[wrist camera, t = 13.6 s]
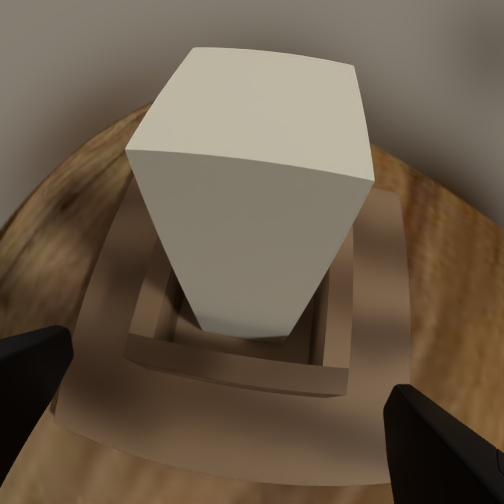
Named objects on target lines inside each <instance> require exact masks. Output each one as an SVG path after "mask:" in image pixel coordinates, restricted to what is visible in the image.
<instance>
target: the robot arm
mask: <svg viewBox="0 0 504 504" xmlns="http://www.w3.org/2000/svg"><path fill="white" fill-rule="evenodd" d="M73 357H74V350H73V344H72V339H71V333H70V331H69V329H68V328H66V327H63V326H60V325H53V326H50V327H46V328H42V329H38V330H34V331H31V332H27V333H23V334H19V335H15V336H11V337H8V338H4V339H0V487H1V485H2V484H3V482H4V480H5V478H6V476H7V474H8V472H9V471H10V469H11V467H12V465H13V463H14V461H15V460H16V458H17V456H18V454H19V453H20V451H21V449H22V447H23V446H24V444H25V442H26V441H27V439H28V437H29V436H30V434H31V432H32V431H33V429H34V427H35V426H36V424H37V422H38V421H39V419H40V418H41V416H42V414H43V413H44V411H45V410H46V408H47V407H48V405H49V403H50V402H51V400H52V398H53V397H54V395H55V393H56V391H57V389H58V387H59V385H60V383H61V381H62V379H63V377H64V375H65V373H66V371H67V370H68V368H69V366H70V364H71V362H72V360H73ZM383 420H384V431H385V443H386V455H387V463H388V469H389V474H390V480H391V486H392V492H393V498H394V504H504V453H503V452H502V451H500V450H499V449H496V447H495V446H493V445H492V444H491V443H489V442H488V441H486V440H485V439H484V438H482V437H481V436H480V435H478V434H477V433H475V432H474V431H473V430H471V429H470V428H469V427H467V426H466V425H464V424H463V423H462V422H460V421H459V420H458V419H456V418H455V417H453V416H452V415H451V414H449V413H448V412H447V411H445V410H444V409H443V408H441V407H440V406H439V405H437V404H436V403H434V402H433V401H432V400H430V399H429V398H428V397H426V396H425V395H424V394H422V393H421V392H420V391H418V390H417V389H416V388H414V387H413V386H412V385H410V384H396V385H395V386H394V387H393V389H392V391H391V393H390V395H389V397H388V399H387V401H386V403H385V405H384V408H383Z"/></svg>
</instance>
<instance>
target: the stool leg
mask: <svg viewBox="0 0 504 504" xmlns="http://www.w3.org/2000/svg"><path fill="white" fill-rule="evenodd" d="M125 151H126V154H127V157H128V160H129V162H130V165H131V168H132V170H133V173H134V176H135V178H136V181H137V184H138V186H139V189H140V191H141V194H142V196H143V199H144V201H145V204H146V206H147V209H148V211H149V214H150V216H151V219H152V221H153V224H154V226H155V228H156V231H157V233H158V235H159V238H160V240H161V242H162V245H163V247H164V249H165V252H166V254H167V256H168V258H169V261H170V263H171V265H172V267H173V270H174V272H175V274H176V276H177V278H178V281H179V283H180V285H181V287H182V289H183V291H184V293H185V296H186V298H187V300H188V302H189V304H190V306H191V308H192V310H193V312H194V314H195V316H196V318H197V320H198V322H199V324H200V326H201V328H202V330H203V331H205V332H210V333H215V334H221V335H227V336H233V337H239V338H245V339H251V340H257V341H264V342H271V343H278V344H284V342H285V340H286V339H287V337H288V336H289V334H290V332H291V331H292V329H293V328H294V326H295V324H296V323H297V321H298V319H299V318H300V316H301V314H302V313H303V311H304V310H305V308H306V306H307V304H308V303H309V301H310V299H311V298H312V296H313V294H314V293H315V291H316V289H317V288H318V286H319V284H320V282H321V281H322V279H323V277H324V275H325V274H326V272H327V270H328V268H329V267H330V265H331V263H332V261H333V259H334V258H335V256H336V254H337V252H338V250H339V249H340V247H341V245H342V243H343V241H344V239H345V238H346V236H347V234H348V232H349V230H350V228H351V226H352V224H353V222H354V221H355V219H356V217H357V215H358V213H359V211H360V209H361V207H362V205H363V203H364V201H365V199H366V197H367V195H368V193H369V191H370V189H371V187H372V185H373V183H374V181H375V180H374V172H373V165H372V158H371V151H370V144H369V138H368V133H367V126H366V121H365V116H364V110H363V105H362V101H361V96H360V91H359V86H358V82H357V78H356V73H355V69H354V66H353V65H349V64H344V63H339V62H334V61H329V60H324V59H319V58H313V57H307V56H301V55H293V54H286V53H279V52H270V51H259V50H248V49H232V48H193V49H192V50H191V52H190V53H189V54H188V56H187V57H186V58H185V60H184V61H183V62H182V63H181V65H180V66H179V67H178V69H177V70H176V72H175V73H174V74H173V76H172V77H171V78H170V80H169V81H168V83H167V84H166V86H165V87H164V88H163V90H162V91H161V93H160V94H159V96H158V97H157V98H156V100H155V101H154V103H153V104H152V106H151V107H150V109H149V111H148V112H147V114H146V115H145V117H144V118H143V120H142V121H141V123H140V125H139V126H138V128H137V130H136V131H135V133H134V134H133V136H132V138H131V140H130V141H129V143H128V145H127V146H126V148H125Z"/></svg>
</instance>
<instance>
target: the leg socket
mask: <svg viewBox="0 0 504 504" xmlns="http://www.w3.org/2000/svg"><path fill="white" fill-rule="evenodd" d="M72 344H73V350H74V357H73V360H72V362H71V364H70V366H69V368H68V370H67V371H66V373H65V375H64V377H63V379H62V381H61V385H60V390H59V395H58V400H57V405H56V410H55V416H54V422H53V423H55V424H57V425H59V426H61V427H63V428H66V429H68V430H70V431H72V432H74V433H77V434H79V435H81V436H84V437H86V438H88V439H91V440H93V441H96V442H98V443H101V444H103V445H106V446H109V447H111V448H114V449H117V450H120V451H123V452H126V453H129V454H132V455H135V456H138V457H141V458H144V459H148V460H151V461H154V462H158V463H162V464H165V465H169V466H173V467H177V468H181V469H185V470H190V471H194V472H199V473H204V474H209V475H214V476H220V477H226V478H232V479H238V480H246V481H254V482H262V483H273V484H285V485H304V486H351V485H370V484H382V483H391V480H390V474H389V469H388V463H387V455H386V443H385V431H384V420H383V408H384V405H385V403H386V401H387V399H388V397H389V395H390V393H391V391H392V389H393V387H394V386H395V385H396V384H409V382H410V354H411V322H410V293H409V277H408V264H407V253H406V243H405V235H404V227H403V219H402V212H401V205H400V199H399V194H398V193H394V192H389V191H385V190H380V189H376V188H371V189H370V191H369V193H368V195H367V197H366V199H365V201H364V203H363V205H362V207H361V209H360V211H359V213H358V215H357V217H356V219H355V221H354V222H353V224H352V226H351V228H350V230H349V232H348V234H347V236H346V238H345V239H344V241H343V243H342V245H341V247H340V249H339V250H338V252H337V254H336V256H335V258H334V259H333V261H332V263H331V265H330V267H329V268H328V270H327V272H326V274H325V275H324V277H323V279H322V281H321V282H320V284H319V286H318V288H317V289H316V291H315V293H314V294H313V296H312V298H311V299H310V301H309V303H308V304H307V306H306V308H305V310H304V311H303V313H302V314H301V316H300V318H299V319H298V321H297V323H296V324H295V326H294V328H293V329H292V331H291V332H290V334H289V336H288V337H287V339H286V340H285V342H284V344H278V343H271V342H264V341H257V340H251V339H245V338H239V337H233V336H227V335H221V334H215V333H210V332H205V331H203V330H202V328H201V326H200V324H199V322H198V320H197V318H196V316H195V314H194V312H193V310H192V308H191V306H190V304H189V302H188V300H187V298H186V296H185V293H184V291H183V289H182V287H181V285H180V283H179V281H178V278H177V276H176V274H175V272H174V270H173V267H172V265H171V263H170V261H169V258H168V256H167V254H166V252H165V249H164V247H163V245H162V242H161V240H160V238H159V235H158V233H157V231H156V228H155V226H154V224H153V221H152V219H151V216H150V214H149V211H148V209H147V206H146V204H145V201H144V199H143V196H142V194H141V191H140V189H139V186H138V184H137V181H136V178H135V176H133V178H132V180H131V182H130V184H129V186H128V188H127V190H126V193H125V195H124V197H123V199H122V201H121V204H120V206H119V208H118V210H117V213H116V215H115V217H114V220H113V222H112V224H111V227H110V229H109V232H108V234H107V236H106V239H105V241H104V244H103V246H102V249H101V252H100V254H99V257H98V259H97V262H96V265H95V268H94V270H93V273H92V276H91V279H90V282H89V285H88V287H87V290H86V293H85V296H84V300H83V303H82V306H81V309H80V312H79V315H78V319H77V322H76V326H75V329H74V332H73V336H72Z"/></svg>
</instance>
